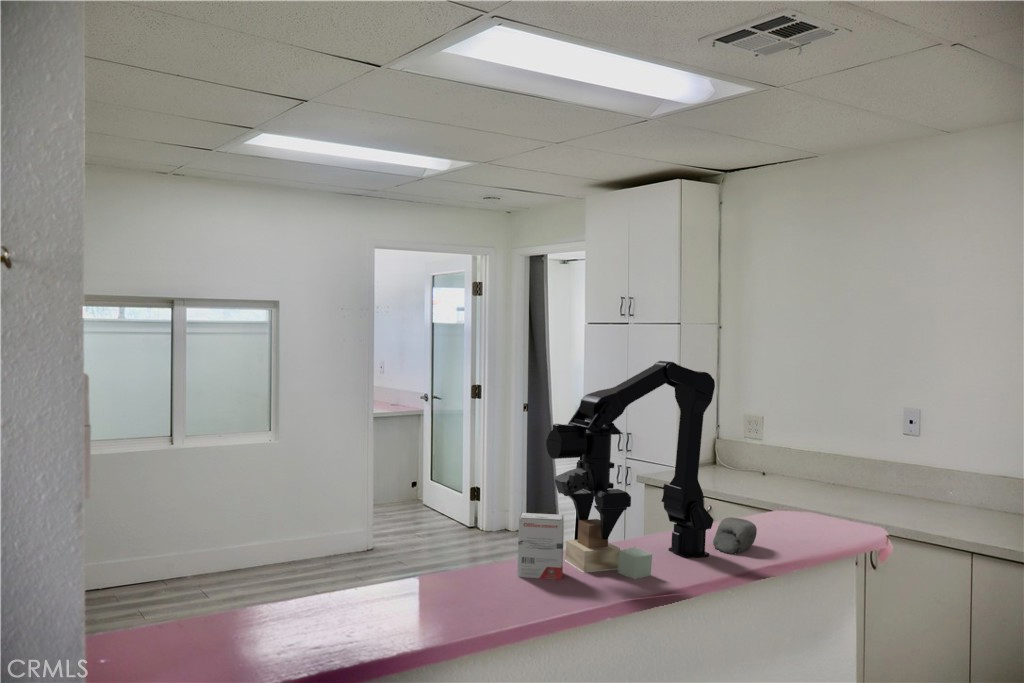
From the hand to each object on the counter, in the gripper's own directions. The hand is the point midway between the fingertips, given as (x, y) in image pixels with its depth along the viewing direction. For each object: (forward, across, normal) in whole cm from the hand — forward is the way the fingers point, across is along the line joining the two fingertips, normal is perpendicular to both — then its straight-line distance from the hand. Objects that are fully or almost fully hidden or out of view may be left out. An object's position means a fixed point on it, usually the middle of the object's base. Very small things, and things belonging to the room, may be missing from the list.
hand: (593, 533), depth 158 cm
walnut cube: (+2, 0, 0) cm, 2 cm away
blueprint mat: (+7, 0, 0) cm, 7 cm away
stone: (+7, -3, +38) cm, 39 cm away
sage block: (+6, +8, +5) cm, 11 cm away
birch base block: (+6, 0, 0) cm, 6 cm away
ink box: (+7, +3, -13) cm, 15 cm away
